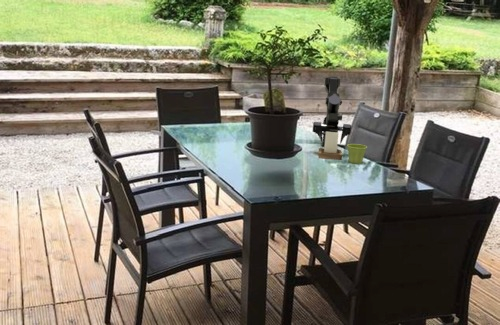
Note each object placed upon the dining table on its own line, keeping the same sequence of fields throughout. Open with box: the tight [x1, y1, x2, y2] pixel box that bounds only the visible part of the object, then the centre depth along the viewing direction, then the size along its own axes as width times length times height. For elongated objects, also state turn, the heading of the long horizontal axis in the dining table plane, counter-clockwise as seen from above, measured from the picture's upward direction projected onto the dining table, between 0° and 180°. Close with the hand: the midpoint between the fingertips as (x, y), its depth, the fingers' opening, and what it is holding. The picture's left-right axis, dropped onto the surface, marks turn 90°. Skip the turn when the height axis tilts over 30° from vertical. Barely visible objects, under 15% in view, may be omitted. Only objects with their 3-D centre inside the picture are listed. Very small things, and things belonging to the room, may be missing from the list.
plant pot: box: [346, 143, 368, 165], centre depth 263 cm, size 9×9×9 cm
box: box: [317, 147, 343, 161], centre depth 272 cm, size 12×11×3 cm
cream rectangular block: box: [323, 131, 339, 153], centre depth 271 cm, size 3×6×12 cm, turn 84°
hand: (331, 142), depth 270 cm, fingers open, 9 cm apart
